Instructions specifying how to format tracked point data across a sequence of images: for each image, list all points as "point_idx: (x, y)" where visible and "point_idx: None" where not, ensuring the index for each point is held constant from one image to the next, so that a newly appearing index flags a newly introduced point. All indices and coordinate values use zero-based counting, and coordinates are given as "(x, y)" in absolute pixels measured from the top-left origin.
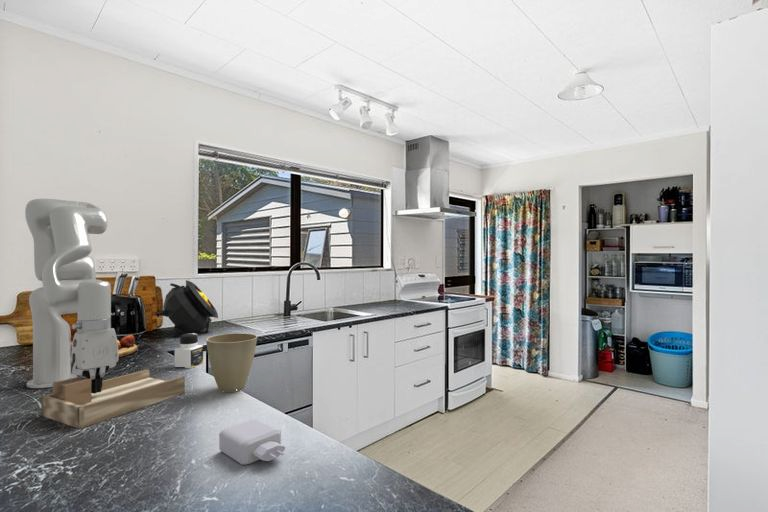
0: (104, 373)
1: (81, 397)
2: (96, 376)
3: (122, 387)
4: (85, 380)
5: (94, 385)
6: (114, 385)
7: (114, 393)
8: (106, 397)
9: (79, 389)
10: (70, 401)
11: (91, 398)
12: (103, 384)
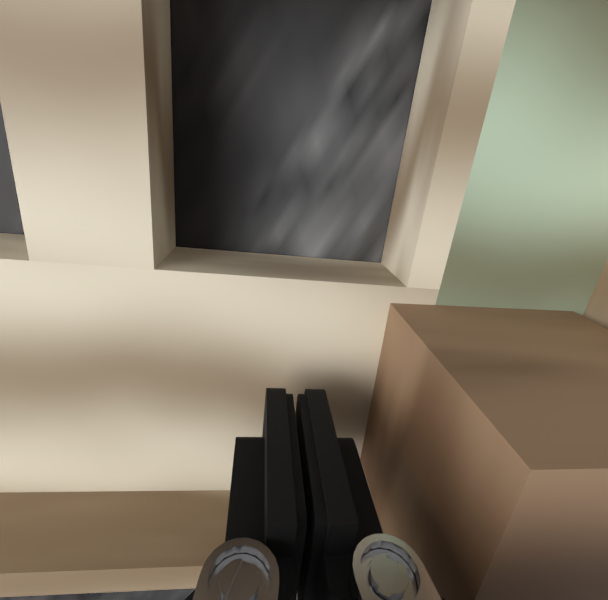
0: (199, 598)
1: (504, 337)
2: (291, 594)
3: (16, 432)
4: (596, 488)
5: (336, 457)
6: (50, 505)
7: (153, 340)
8: (260, 297)
9: (595, 392)
10: (586, 335)
11: (325, 386)
12: (138, 538)
